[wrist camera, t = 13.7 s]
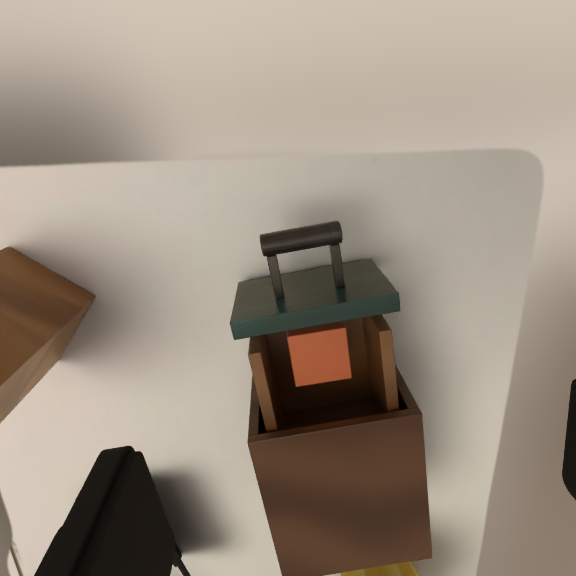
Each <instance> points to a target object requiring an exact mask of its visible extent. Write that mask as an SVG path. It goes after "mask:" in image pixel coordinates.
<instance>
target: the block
mask: <svg viewBox="0 0 576 576" xmlns="http://www.w3.org/2000/svg"><path fill="white" fill-rule="evenodd" d="M286 332H287V341H288V346H289V352H290V358H291V363H292V369H293V375H294V380H295V386H296V387H298V386H305V385H311V384H317V383H324V382H330V381H336V380H343V379H349V378H352V373H351V364H350V356H349V347H348V339H347V331H346V326H345V324H344V321H340V322H334V323H328V324H323V325H317V326H311V327H305V328H300V329H294V330H288V331H286Z"/></svg>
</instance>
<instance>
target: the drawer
mask: <svg viewBox="0 0 576 576" xmlns="http://www.w3.org/2000/svg"><path fill="white" fill-rule="evenodd" d="M342 240H343V237H342V230H341V225H340V222H339V221H332V222H326V223H321V224H315V225H310V226H304V227H299V228H293V229H288V230H282V231H277V232H271V233H266V234H261V235H260V243H261V249H262V253H263V256H267V260H268V265H269V270H270V275H271V277H266V278H260V279H255V280H249V281H243V282H239V283H238V287H237V292H236V297H235V302H234V306H233V311H232V316H231V321H230V326H231V330H232V334H233V338H234V340H237V339H243V338H248V337H250V342H249V352H248V356H249V361H250V365H251V369H252V373H253V377H254V382H255V386H256V390H257V394H258V398H259V403H260V407H261V411H262V415H263V419H264V424H265V428H266V432H267V433H270V432H276V431H282V430H288V429H294V428H299V427H305V426H311V425H317V424H323V423H329V422H335V421H341V420H347V419H352V418H358V417H364V416H370V415H376V414H382V413H388V412H394V411H399V403H398V392H397V382H396V371H395V361H394V350H393V340H392V330H391V328H390V327H389V325H388V324H387V322H386V320H385V319H384V317H383V315H382V314H385V313H391V312H397V311H400V301H399V293H398V292H397V290H396V289H395V288H394V287H393V285H392V284H391V283H390V282H389V280H388V279H387V278H386V277H385V275H384V274H383V273H382V272H381V270H380V269H379V268H378V267H377V265H376V264H375V263H374V262H373V260H372V259H367V260H361V261H355V262H350V263H344V264H342V259H341V252H340V245H339V243H342ZM326 245H329V247H330V254H331V261H332V266H327V267H322V268H316V269H311V270H305V271H299V272H294V273H288V274H283V275H280V270H279V265H278V260H277V255H276V254H282V253H288V252H293V251H299V250H304V249H310V248H315V247H321V246H326ZM340 321H344V324H345V326H346V331H347V339H348V347H349V356H350V364H351V373H352V378H349V379H343V380H336V381H330V382H324V383H317V384H311V385H305V386H298V387H296V386H295V380H294V375H293V369H292V363H291V358H290V352H289V346H288V341H287V332H286V331H288V330H294V329H300V328H305V327H311V326H317V325H323V324H328V323H334V322H340Z"/></svg>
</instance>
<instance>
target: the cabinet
mask: <svg viewBox="0 0 576 576" xmlns="http://www.w3.org/2000/svg"><path fill="white" fill-rule="evenodd" d="M395 371H396V382H397V392H398V403H399V411H394V412H388V413H382V414H376V415H370V416H364V417H358V418H352V419H347V420H341V421H335V422H329V423H323V424H317V425H311V426H305V427H299V428H294V429H288V430H282V431H276V432H270V433H267V432H266V428H265V424H264V419H263V415H262V411H261V407H260V403H259V398H258V394H257V390H256V386H255V382H254V377H253V376H252V389H251V403H250V417H249V431H248V447H249V450H250V454H251V458H252V462H253V466H254V470H255V473H256V477H257V481H258V485H259V489H260V492H261V496H262V500H263V504H264V508H265V512H266V515H267V519H268V523H269V527H270V531H271V535H272V538H273V542H274V546H275V550H276V554H277V558H278V561H279V565H280V569H281V573H282V576H323V575H329V574H336V573H342V572H348V571H354V570H360V569H367V568H373V567H379V566H385V565H391V564H398V563H404V562H410V561H416V560H422V559H429V558H432V546H431V532H430V518H429V504H428V491H427V477H426V463H425V449H424V435H423V421H422V413H421V411H420V409H419V408H418V405H417V404H416V402H415V400H414V398H413V396H412V394H411V392H410V391H409V389H408V387H407V385H406V383H405V381H404V379H403V378H402V376H401V374H400V372H399V370H398V368H397V367H396V365H395Z"/></svg>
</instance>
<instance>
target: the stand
mask: <svg viewBox="0 0 576 576" xmlns="http://www.w3.org/2000/svg"><path fill="white" fill-rule="evenodd" d="M95 297H96V296H95V295H93V294H92V293H90V292H88V291H86V290H84V289H83V288H81V287H79V286H77V285H76V284H74V283H72V282H70V281H69V280H67V279H65V278H63V277H61V276H60V275H58V274H56V273H54V272H53V271H51V270H49V269H47V268H46V267H44V266H42V265H40V264H38V263H37V262H35V261H33V260H31V259H30V258H28V257H26V256H24V255H22V254H21V253H19V252H17V251H15V250H14V249H12V248H10V247H7V248H4V249H2V250H0V423H1V422H2V421H3V420H4V419H5V418H6V416H7V415H8V414H9V413H10V412H11V411H12V410H13V409H14V408H15V407H16V406H17V405H18V403H19V402H20V401H21V400H22V399H23V398H24V397H25V396H26V395H27V394H28V393H29V392H30V391H31V389H32V388H33V387H34V386H35V385H36V384H37V383H38V382H39V381H40V380H41V379H42V378H43V377H44V375H45V374H46V373H47V372H48V371H49V370H50V369H51V368H52V367H53V366H54V365H55V364H56V363H57V361H58V360H59V358H60V356H61V355H62V353H63V351H64V350H65V348H66V346H67V345H68V343H69V341H70V339H71V338H72V336H73V334H74V333H75V331H76V329H77V328H78V326H79V324H80V322H81V321H82V319H83V317H84V316H85V314H86V312H87V311H88V309H89V307H90V305H91V304H92V302H93V300H94V299H95Z"/></svg>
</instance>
